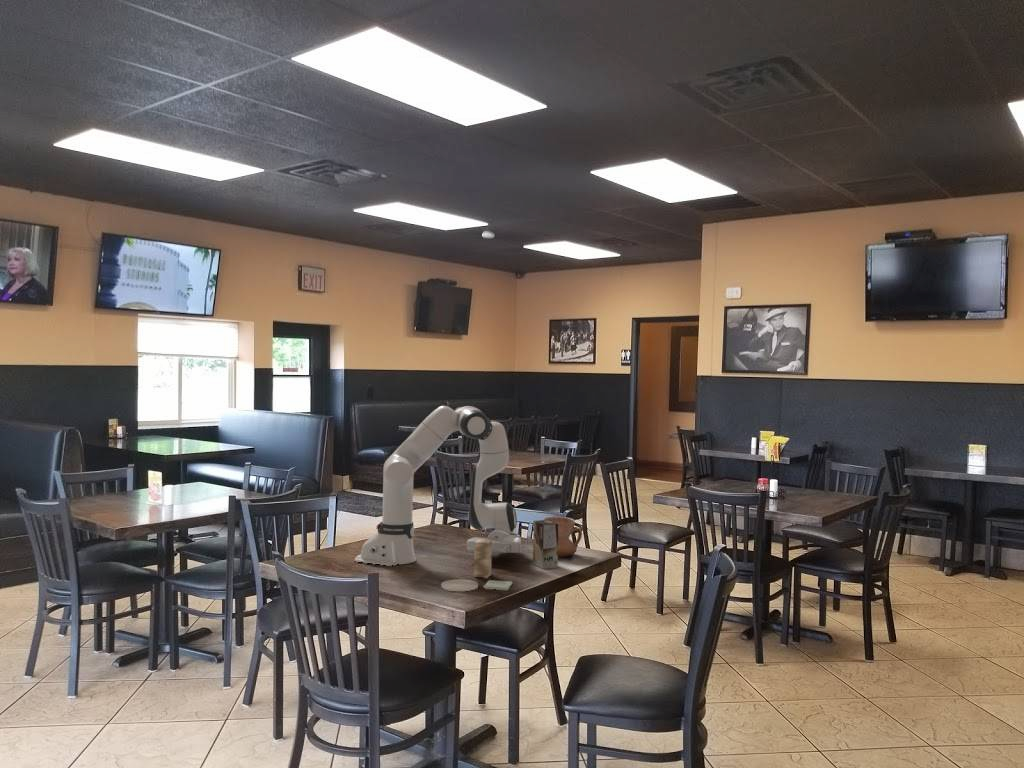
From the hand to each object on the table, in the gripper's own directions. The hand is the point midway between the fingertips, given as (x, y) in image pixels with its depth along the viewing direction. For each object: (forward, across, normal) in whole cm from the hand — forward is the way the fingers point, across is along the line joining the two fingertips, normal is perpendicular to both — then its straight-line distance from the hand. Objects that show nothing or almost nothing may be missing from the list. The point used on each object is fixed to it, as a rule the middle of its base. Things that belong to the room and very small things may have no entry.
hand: (490, 549), depth 275 cm
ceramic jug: (-26, +22, +7) cm, 35 cm away
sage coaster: (+24, +8, +6) cm, 26 cm away
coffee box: (-8, +19, +7) cm, 22 cm away
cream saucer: (+28, -4, +7) cm, 29 cm away
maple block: (+12, 0, +7) cm, 14 cm away
